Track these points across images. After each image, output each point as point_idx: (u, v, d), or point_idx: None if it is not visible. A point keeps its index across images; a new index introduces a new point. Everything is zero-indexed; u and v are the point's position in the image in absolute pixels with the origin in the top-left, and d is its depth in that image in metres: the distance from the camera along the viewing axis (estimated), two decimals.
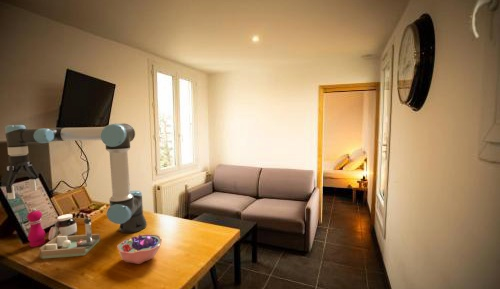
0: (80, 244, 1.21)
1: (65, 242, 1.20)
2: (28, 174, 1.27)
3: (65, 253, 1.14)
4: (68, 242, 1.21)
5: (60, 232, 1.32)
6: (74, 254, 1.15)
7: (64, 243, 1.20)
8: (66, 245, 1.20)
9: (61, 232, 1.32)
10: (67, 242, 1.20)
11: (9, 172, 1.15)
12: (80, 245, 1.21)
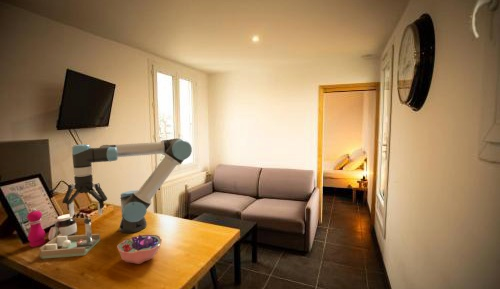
0: (80, 244, 1.21)
1: (65, 242, 1.20)
2: None
3: (65, 253, 1.14)
4: (68, 242, 1.21)
5: (60, 232, 1.32)
6: (74, 254, 1.15)
7: (64, 243, 1.20)
8: (66, 245, 1.20)
9: (61, 232, 1.32)
10: (67, 242, 1.20)
11: None
12: (80, 245, 1.21)
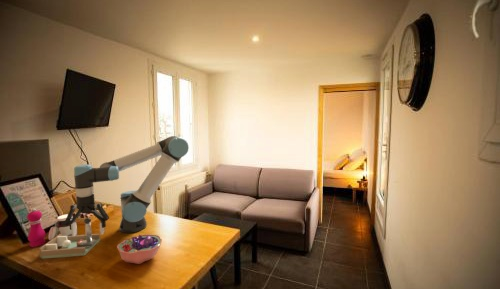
0: (80, 244, 1.21)
1: (65, 242, 1.20)
2: None
3: (65, 253, 1.14)
4: (68, 242, 1.21)
5: (60, 232, 1.32)
6: (74, 254, 1.15)
7: (64, 243, 1.20)
8: (66, 245, 1.20)
9: (61, 232, 1.32)
10: (67, 242, 1.20)
11: None
12: (80, 245, 1.21)
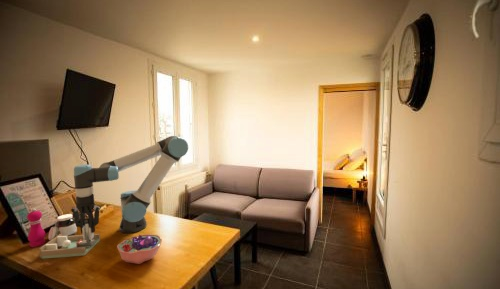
0: (80, 244, 1.21)
1: (65, 242, 1.20)
2: None
3: (65, 253, 1.14)
4: (68, 242, 1.21)
5: (60, 232, 1.32)
6: (74, 254, 1.15)
7: (64, 243, 1.20)
8: (66, 245, 1.20)
9: (61, 232, 1.32)
10: (67, 242, 1.20)
11: None
12: (80, 245, 1.21)
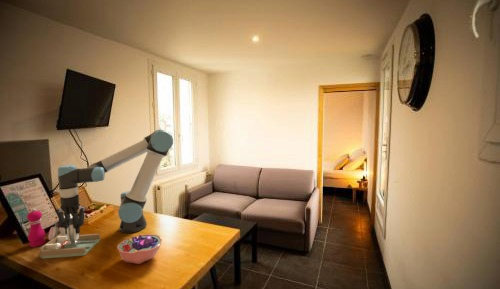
0: (64, 245, 1.20)
1: None
2: None
3: (65, 253, 1.14)
4: None
5: (60, 232, 1.32)
6: (74, 254, 1.15)
7: None
8: None
9: (61, 232, 1.32)
10: None
11: None
12: (64, 246, 1.20)
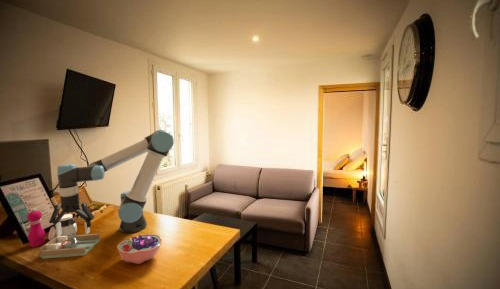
0: (64, 245, 1.20)
1: None
2: None
3: (65, 253, 1.14)
4: None
5: None
6: (74, 254, 1.15)
7: None
8: None
9: None
10: None
11: None
12: (64, 246, 1.20)
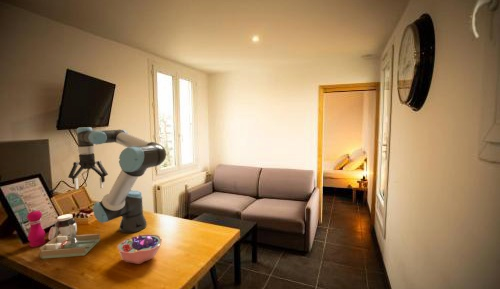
0: (64, 245, 1.20)
1: None
2: None
3: (65, 253, 1.14)
4: None
5: (60, 232, 1.32)
6: (74, 254, 1.15)
7: None
8: None
9: (61, 232, 1.32)
10: None
11: None
12: (64, 246, 1.20)
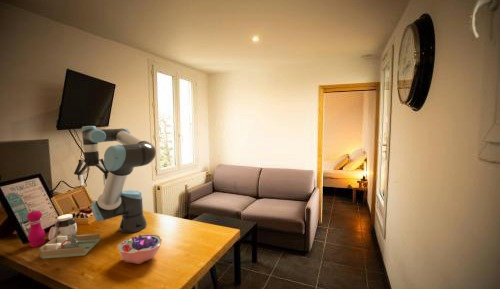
0: (64, 245, 1.20)
1: None
2: None
3: (65, 253, 1.14)
4: None
5: (60, 232, 1.32)
6: (74, 254, 1.15)
7: None
8: None
9: (61, 232, 1.32)
10: None
11: None
12: (64, 246, 1.20)
